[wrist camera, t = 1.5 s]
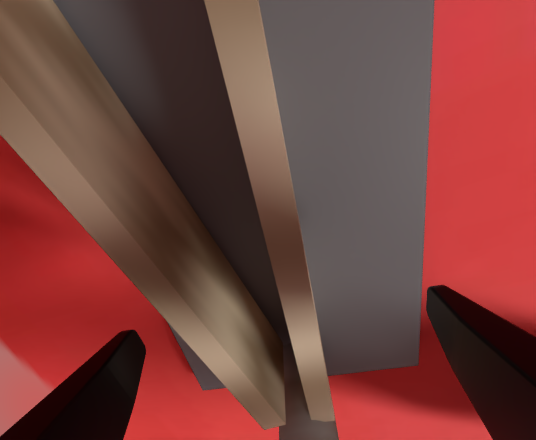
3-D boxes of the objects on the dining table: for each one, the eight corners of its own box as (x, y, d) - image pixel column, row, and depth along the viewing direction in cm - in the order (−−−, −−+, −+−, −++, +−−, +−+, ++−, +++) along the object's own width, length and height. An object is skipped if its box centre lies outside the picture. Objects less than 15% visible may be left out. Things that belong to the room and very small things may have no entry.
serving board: (411, 350, 18) (418, 365, 17) (206, 375, 19) (202, 390, 18) (424, -210, 8) (445, -247, 7) (-11, -67, 9) (-42, -81, 8)
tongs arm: (282, 343, 16) (285, 424, 12) (266, 348, 16) (264, 429, 12) (35, -27, 8) (-138, -94, 5) (10, -8, 9) (-173, -59, 5)
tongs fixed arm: (326, 368, 17) (342, 458, 13) (282, 373, 17) (285, 463, 13) (237, -117, 8) (199, -305, 4) (145, -88, 8) (23, -235, 4)
